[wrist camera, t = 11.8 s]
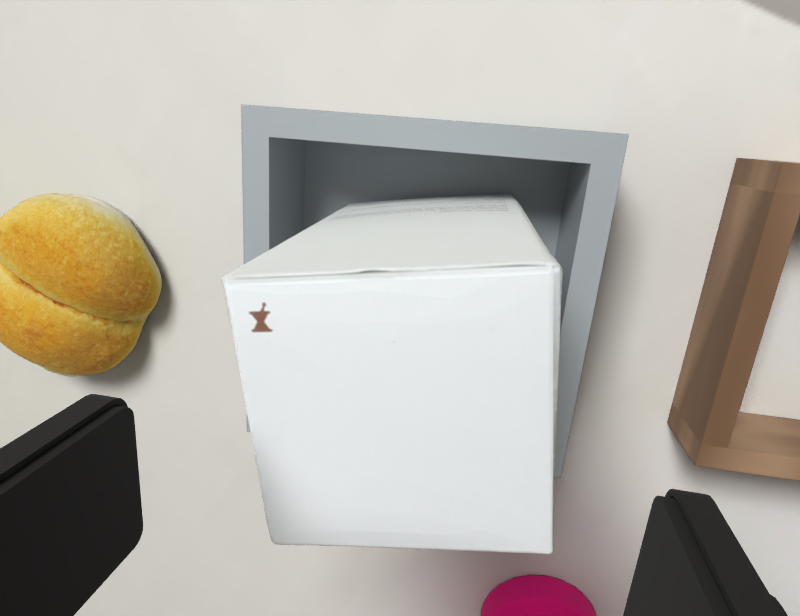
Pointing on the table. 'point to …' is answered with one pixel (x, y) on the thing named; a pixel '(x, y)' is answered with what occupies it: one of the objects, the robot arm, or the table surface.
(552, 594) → the pepper mill
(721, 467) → the walnut frame
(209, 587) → the table surface
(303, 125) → the grey bin
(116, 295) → the bread roll
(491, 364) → the supplement box
